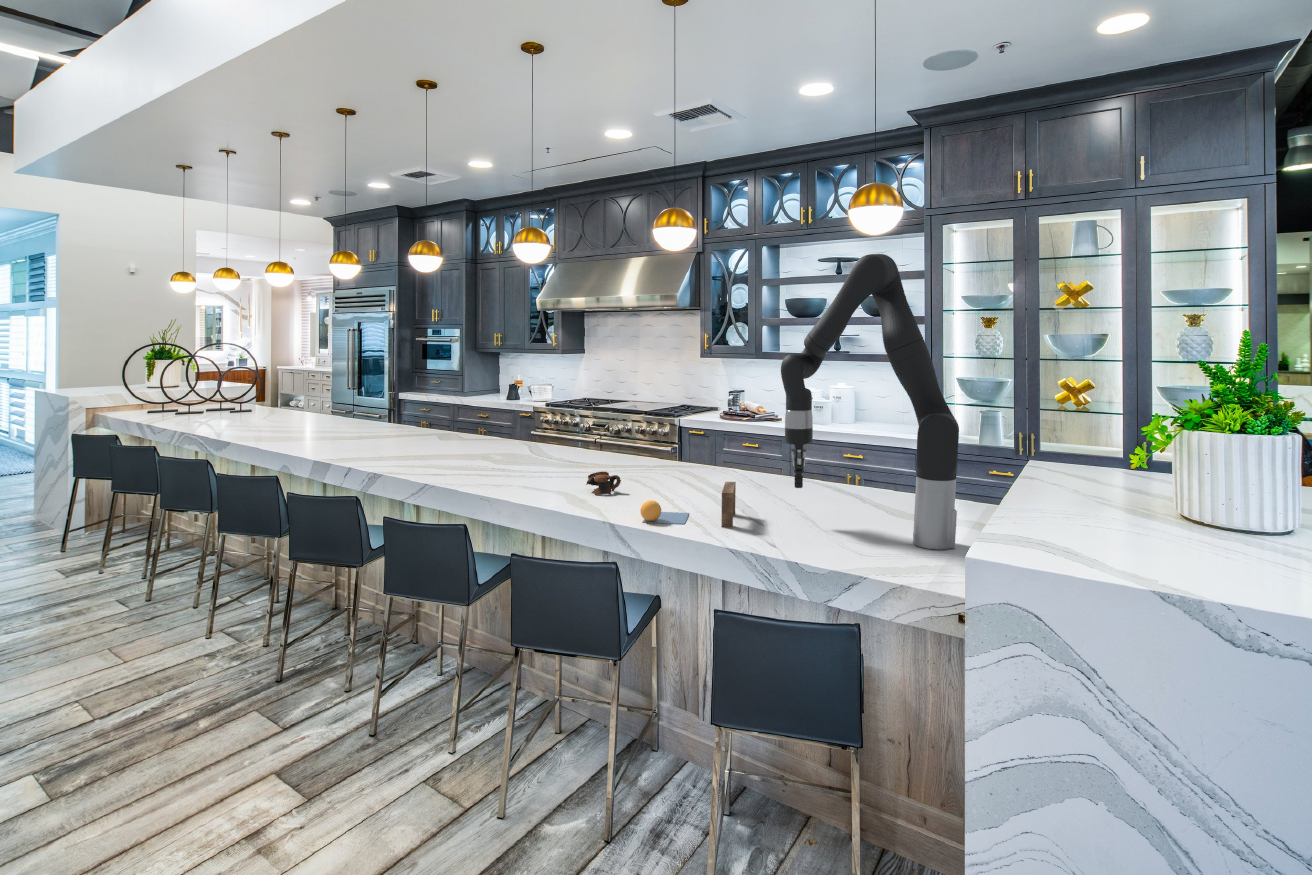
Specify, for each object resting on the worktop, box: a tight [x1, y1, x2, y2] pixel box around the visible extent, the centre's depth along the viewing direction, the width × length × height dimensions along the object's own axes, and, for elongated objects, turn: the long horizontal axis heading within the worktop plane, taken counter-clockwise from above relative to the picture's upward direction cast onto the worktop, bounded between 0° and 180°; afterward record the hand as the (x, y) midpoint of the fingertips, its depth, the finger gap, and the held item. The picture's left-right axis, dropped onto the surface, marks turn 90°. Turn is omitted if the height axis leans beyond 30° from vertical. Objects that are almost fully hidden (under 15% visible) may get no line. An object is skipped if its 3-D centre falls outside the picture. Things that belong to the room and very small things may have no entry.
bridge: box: [721, 481, 737, 528], centre depth 195 cm, size 3×15×10 cm, turn 171°
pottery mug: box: [586, 471, 622, 496], centre depth 233 cm, size 12×10×8 cm
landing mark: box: [641, 511, 690, 525], centre depth 199 cm, size 12×12×1 cm
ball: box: [639, 499, 662, 521], centre depth 195 cm, size 6×6×6 cm
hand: (798, 487), depth 191 cm, fingers closed
